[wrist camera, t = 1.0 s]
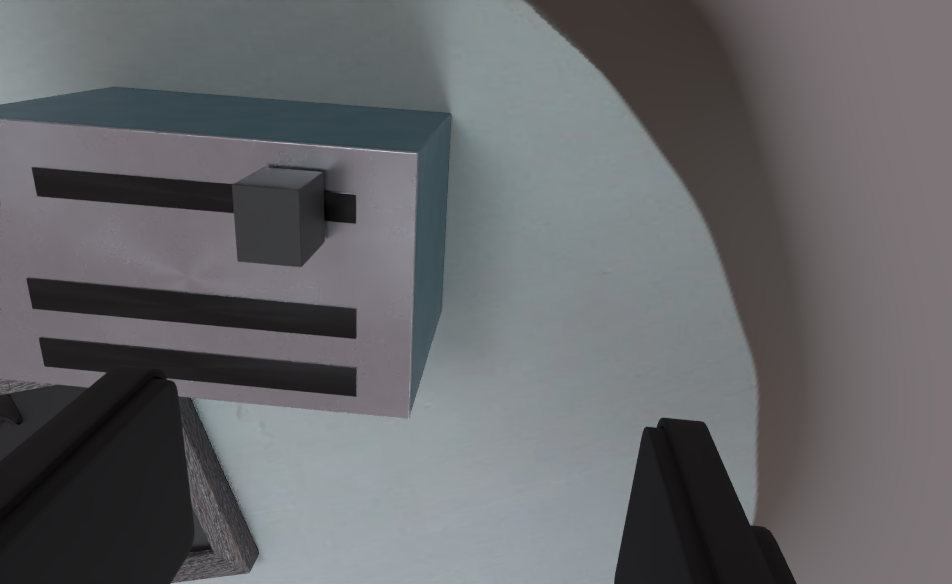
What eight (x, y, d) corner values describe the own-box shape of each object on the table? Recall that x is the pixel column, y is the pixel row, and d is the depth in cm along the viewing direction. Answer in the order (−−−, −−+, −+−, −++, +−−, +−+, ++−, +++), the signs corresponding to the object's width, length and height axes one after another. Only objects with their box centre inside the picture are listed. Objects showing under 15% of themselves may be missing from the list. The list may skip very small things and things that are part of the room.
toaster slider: (262, 166, 21) (230, 184, 19) (323, 171, 21) (299, 189, 19) (266, 237, 22) (237, 262, 20) (325, 242, 22) (301, 268, 20)
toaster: (112, 86, 31) (-66, 114, 22) (451, 113, 30) (417, 153, 21) (139, 284, 35) (-3, 379, 26) (441, 311, 34) (408, 420, 25)
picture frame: (-29, 592, 45) (259, 553, 41) (-54, 617, 43) (246, 578, 40) (-165, 387, 39) (157, 324, 36) (-199, 406, 37) (137, 341, 34)
